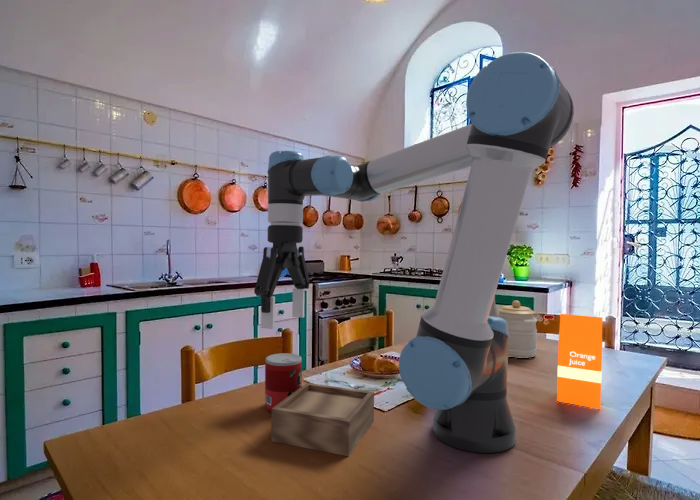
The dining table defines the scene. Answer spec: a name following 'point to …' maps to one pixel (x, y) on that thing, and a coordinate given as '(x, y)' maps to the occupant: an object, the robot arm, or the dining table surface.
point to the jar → (520, 329)
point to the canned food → (281, 377)
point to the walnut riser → (323, 418)
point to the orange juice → (580, 360)
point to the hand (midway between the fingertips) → (284, 322)
